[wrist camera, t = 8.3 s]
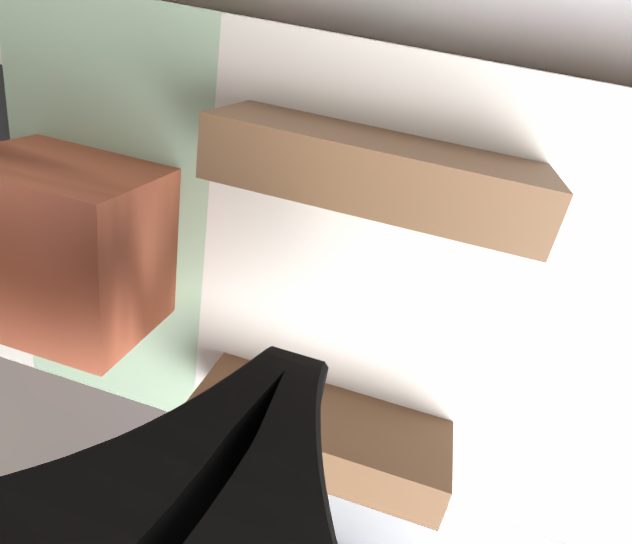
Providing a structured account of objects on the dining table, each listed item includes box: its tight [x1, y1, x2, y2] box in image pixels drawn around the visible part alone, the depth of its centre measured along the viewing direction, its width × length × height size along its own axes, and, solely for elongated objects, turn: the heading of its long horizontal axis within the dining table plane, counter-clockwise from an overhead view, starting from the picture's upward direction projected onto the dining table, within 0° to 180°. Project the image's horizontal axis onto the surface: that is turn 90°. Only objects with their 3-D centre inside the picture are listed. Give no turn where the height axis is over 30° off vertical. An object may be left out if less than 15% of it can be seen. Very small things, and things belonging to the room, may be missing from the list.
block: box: [0, 134, 181, 377], centre depth 15 cm, size 5×5×4 cm
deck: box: [0, 0, 632, 544], centre depth 16 cm, size 14×33×6 cm, turn 81°
